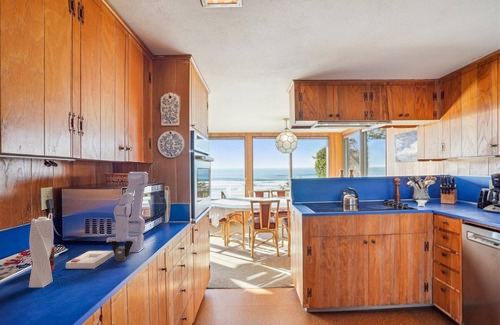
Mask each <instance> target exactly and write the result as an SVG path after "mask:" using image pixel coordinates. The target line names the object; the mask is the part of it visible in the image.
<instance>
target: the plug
mask: <svg viewBox="0 0 500 325" xmlns="http://www.w3.org/2000/svg"><path fill="white" fill-rule="evenodd" d="M128 259H129V256H127V257H125V245H122V246H121V245H119V247H118V248H116V249H115V254H114V261H115V262H125V261H126V260H128Z"/></svg>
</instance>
